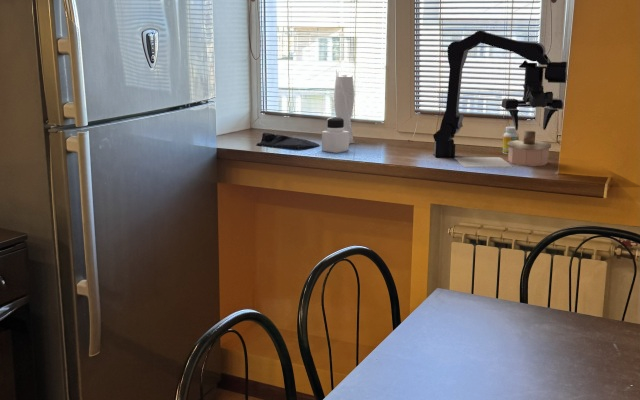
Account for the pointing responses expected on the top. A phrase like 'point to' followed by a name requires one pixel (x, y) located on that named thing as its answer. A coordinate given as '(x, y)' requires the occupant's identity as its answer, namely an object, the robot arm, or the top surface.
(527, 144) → the lid
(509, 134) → the supplement bottle
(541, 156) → the bowl
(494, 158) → the mat
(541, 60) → the robot arm
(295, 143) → the crumpled black cloth
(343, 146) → the medicine bottle
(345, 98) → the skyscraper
